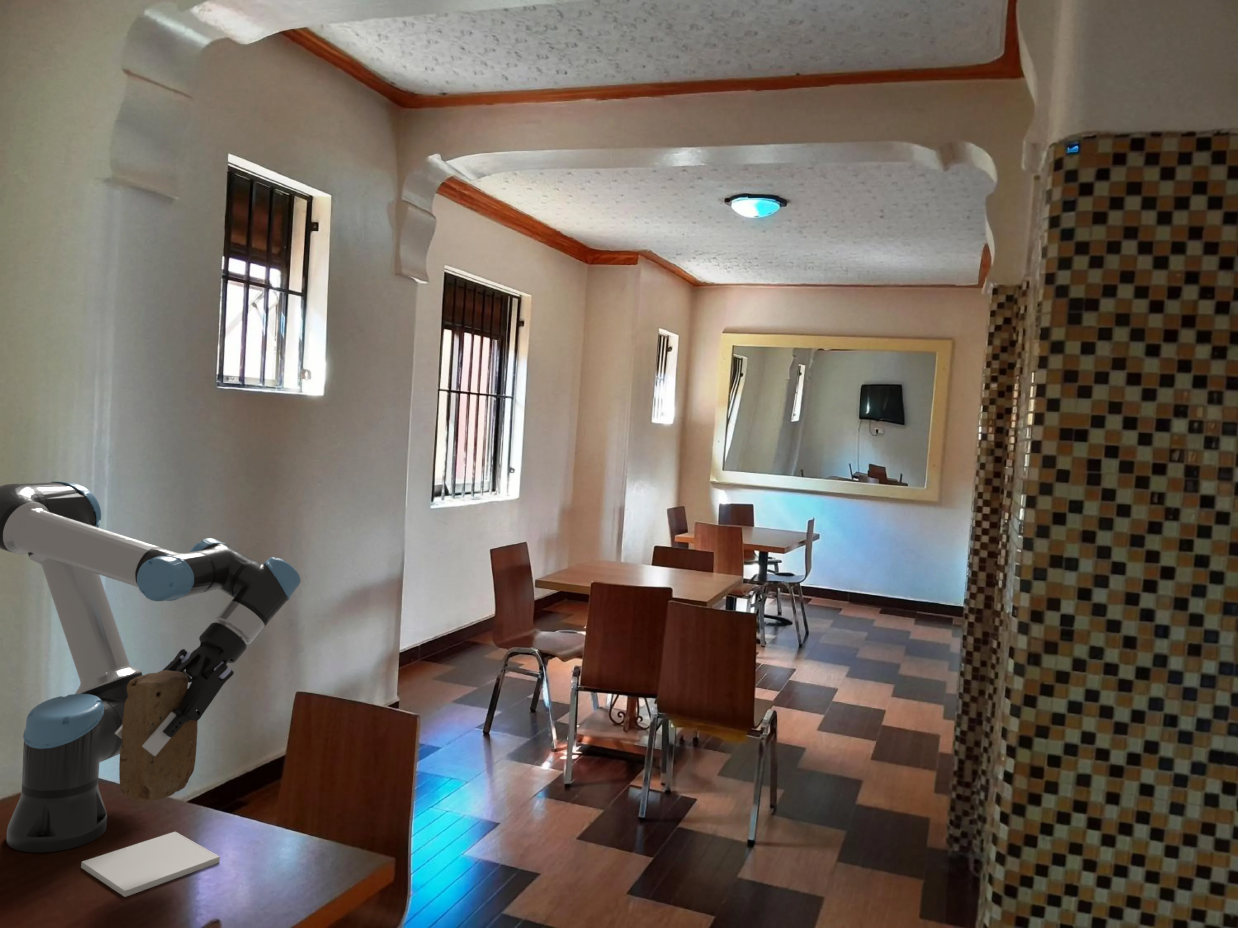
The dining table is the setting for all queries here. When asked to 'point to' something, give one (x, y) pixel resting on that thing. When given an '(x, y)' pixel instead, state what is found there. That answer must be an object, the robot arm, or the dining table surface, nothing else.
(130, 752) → the block
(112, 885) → the mat
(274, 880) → the dining table surface
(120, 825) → the dining table surface
